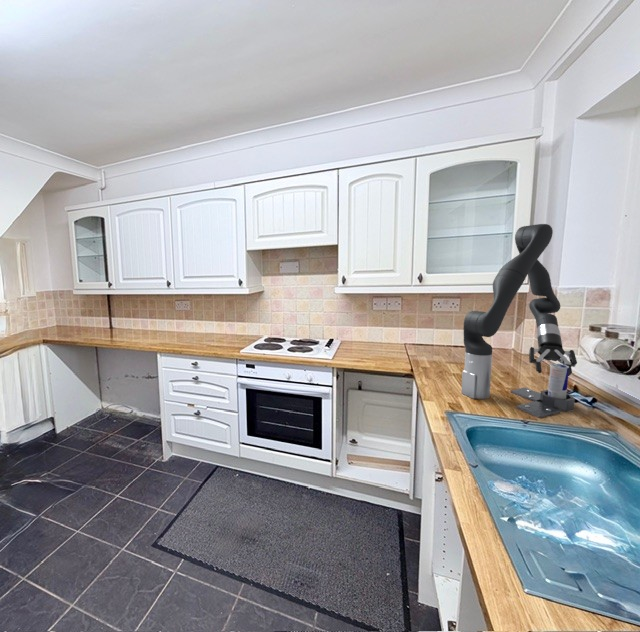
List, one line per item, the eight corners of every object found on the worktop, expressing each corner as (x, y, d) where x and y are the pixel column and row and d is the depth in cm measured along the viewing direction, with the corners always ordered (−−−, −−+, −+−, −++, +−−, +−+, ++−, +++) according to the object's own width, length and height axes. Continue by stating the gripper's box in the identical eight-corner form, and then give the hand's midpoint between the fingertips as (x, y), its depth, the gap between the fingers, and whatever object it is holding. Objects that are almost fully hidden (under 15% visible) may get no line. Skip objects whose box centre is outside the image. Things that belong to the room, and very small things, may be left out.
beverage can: (568, 407, 104) (572, 366, 102) (558, 409, 102) (562, 368, 100) (553, 401, 109) (557, 362, 107) (543, 403, 107) (547, 363, 105)
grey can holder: (540, 418, 96) (541, 407, 96) (490, 396, 114) (491, 386, 114) (579, 408, 103) (580, 397, 102) (525, 389, 120) (526, 379, 120)
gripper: (529, 331, 119) (532, 367, 110) (574, 333, 112) (581, 371, 104) (525, 341, 124) (529, 375, 116) (568, 343, 118) (575, 380, 109)
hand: (554, 373), depth 110 cm, fingers open, 8 cm apart
